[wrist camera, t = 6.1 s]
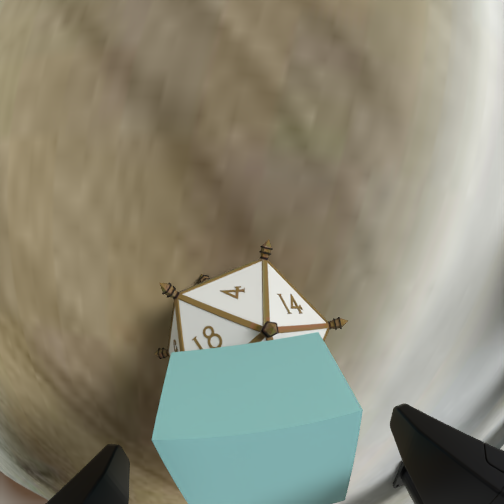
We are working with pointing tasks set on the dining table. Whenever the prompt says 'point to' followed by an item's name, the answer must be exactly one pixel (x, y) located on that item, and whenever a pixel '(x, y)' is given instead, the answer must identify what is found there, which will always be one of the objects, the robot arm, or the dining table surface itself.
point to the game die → (241, 309)
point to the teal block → (258, 423)
